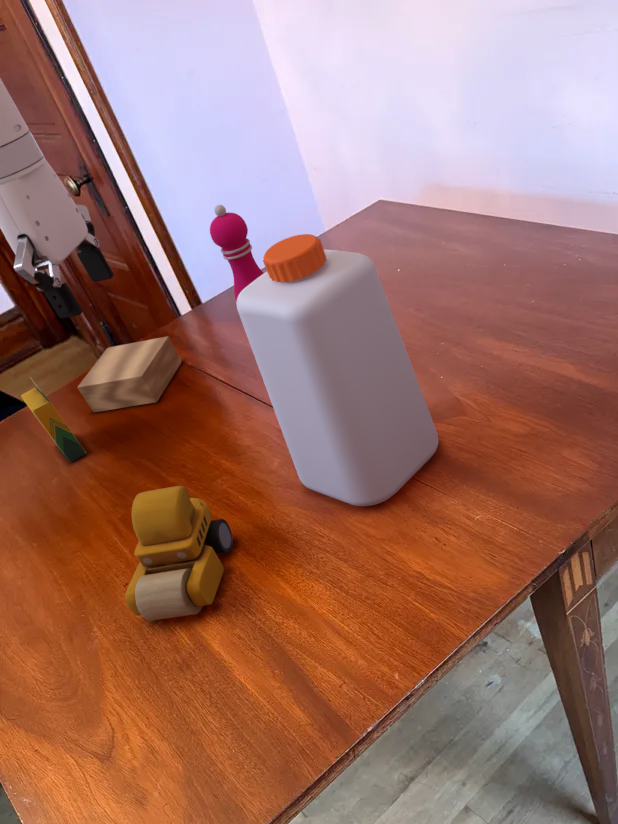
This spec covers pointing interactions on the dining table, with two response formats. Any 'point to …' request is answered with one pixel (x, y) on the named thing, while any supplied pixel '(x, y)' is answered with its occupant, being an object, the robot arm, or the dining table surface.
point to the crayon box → (53, 423)
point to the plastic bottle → (337, 371)
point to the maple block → (130, 374)
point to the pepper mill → (235, 247)
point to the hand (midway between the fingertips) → (88, 296)
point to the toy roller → (175, 554)
